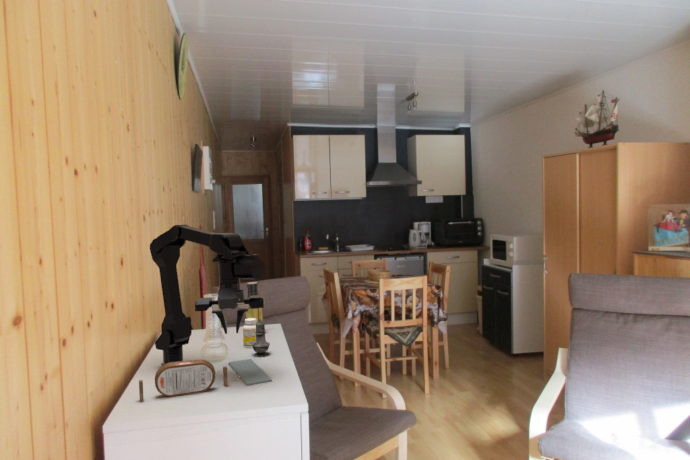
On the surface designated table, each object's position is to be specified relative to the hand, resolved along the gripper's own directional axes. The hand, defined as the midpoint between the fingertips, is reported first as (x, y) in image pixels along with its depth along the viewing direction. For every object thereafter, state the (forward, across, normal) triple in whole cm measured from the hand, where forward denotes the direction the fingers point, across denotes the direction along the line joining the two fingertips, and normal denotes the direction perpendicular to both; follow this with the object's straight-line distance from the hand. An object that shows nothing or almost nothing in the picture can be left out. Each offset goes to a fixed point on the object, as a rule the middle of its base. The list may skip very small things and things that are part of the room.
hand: (231, 333), depth 138 cm
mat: (+13, +4, +4) cm, 14 cm away
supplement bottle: (+13, +3, +32) cm, 35 cm away
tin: (+13, -11, -10) cm, 20 cm away
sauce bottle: (+13, +3, +50) cm, 52 cm away
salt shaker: (+13, +7, +21) cm, 25 cm away
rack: (+13, -11, -10) cm, 20 cm away
